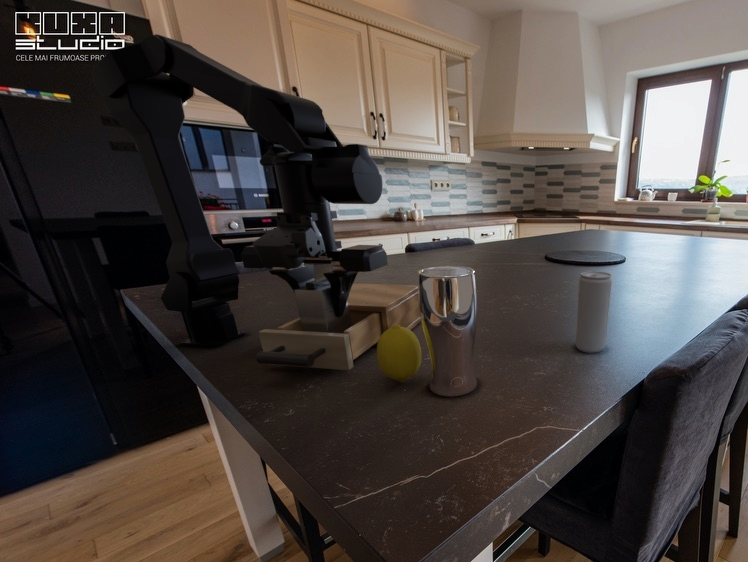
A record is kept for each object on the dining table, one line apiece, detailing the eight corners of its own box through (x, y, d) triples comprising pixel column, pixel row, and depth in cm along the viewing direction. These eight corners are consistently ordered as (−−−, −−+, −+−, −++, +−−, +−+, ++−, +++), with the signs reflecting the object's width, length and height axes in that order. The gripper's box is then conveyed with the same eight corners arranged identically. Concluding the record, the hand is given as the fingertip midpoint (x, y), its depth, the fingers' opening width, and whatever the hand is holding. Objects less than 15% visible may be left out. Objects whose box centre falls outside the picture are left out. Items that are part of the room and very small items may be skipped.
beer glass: (457, 404, 47) (450, 279, 42) (414, 389, 50) (403, 272, 45) (490, 381, 52) (488, 269, 47) (450, 370, 56) (443, 263, 50)
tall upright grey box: (306, 350, 57) (292, 283, 54) (330, 336, 63) (319, 275, 59) (331, 352, 57) (319, 284, 53) (353, 337, 62) (344, 275, 59)
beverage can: (611, 348, 64) (618, 274, 59) (595, 356, 60) (601, 279, 56) (585, 340, 67) (590, 270, 62) (569, 348, 63) (573, 274, 59)
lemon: (413, 393, 49) (406, 333, 46) (372, 389, 50) (364, 330, 47) (430, 374, 54) (425, 319, 52) (393, 371, 55) (386, 317, 53)
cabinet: (390, 346, 64) (385, 306, 62) (312, 342, 66) (305, 302, 64) (423, 319, 78) (420, 285, 75) (357, 316, 80) (353, 283, 77)
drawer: (331, 384, 50) (324, 348, 48) (241, 378, 51) (232, 343, 50) (392, 336, 66) (389, 308, 64) (323, 332, 68) (318, 304, 66)
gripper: (190, 205, 46) (224, 330, 52) (337, 206, 44) (356, 338, 49) (260, 202, 57) (283, 307, 62) (382, 203, 54) (394, 312, 60)
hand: (325, 315), depth 58 cm, fingers closed on tall upright grey box, 4 cm apart
